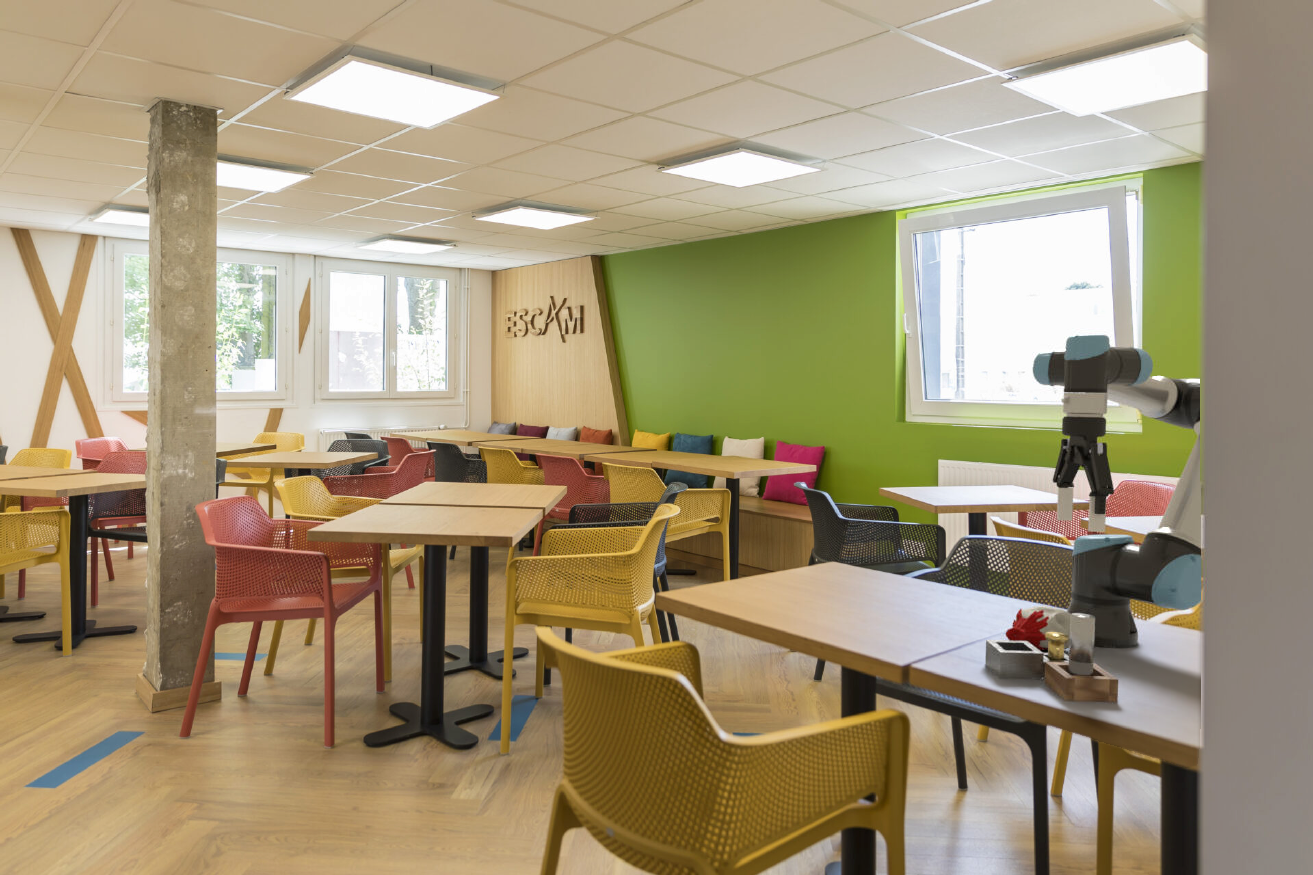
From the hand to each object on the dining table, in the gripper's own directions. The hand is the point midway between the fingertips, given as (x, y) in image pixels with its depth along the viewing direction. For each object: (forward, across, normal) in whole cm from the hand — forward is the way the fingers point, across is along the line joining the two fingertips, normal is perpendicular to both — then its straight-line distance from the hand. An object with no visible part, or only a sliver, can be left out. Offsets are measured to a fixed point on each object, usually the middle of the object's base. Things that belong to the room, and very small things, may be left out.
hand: (1079, 525), depth 164 cm
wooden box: (+29, +12, -4) cm, 31 cm away
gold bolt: (+28, +1, -4) cm, 29 cm away
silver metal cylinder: (+29, +11, -4) cm, 31 cm away
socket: (+29, +1, -9) cm, 30 cm away
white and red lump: (+29, -15, -1) cm, 33 cm away
